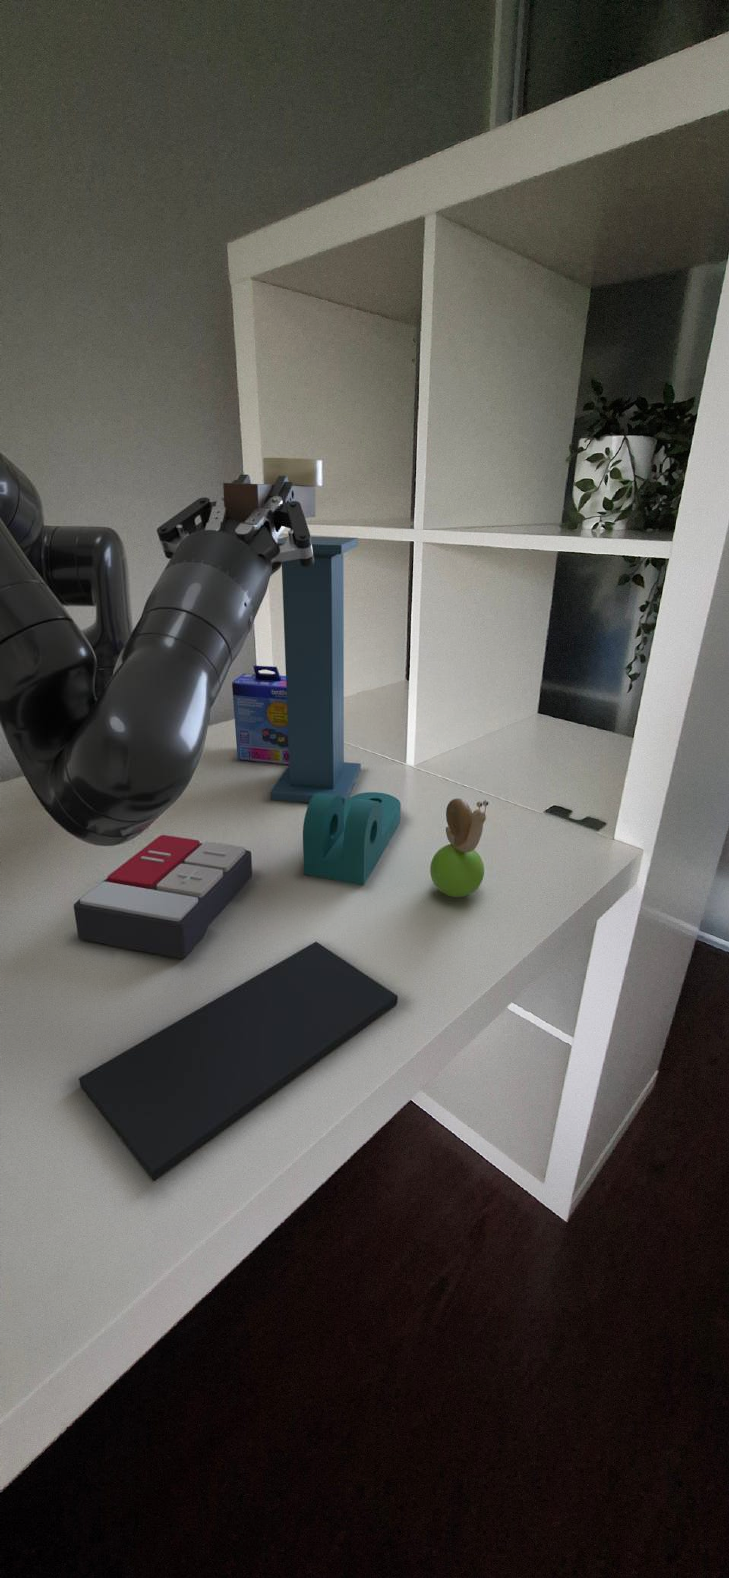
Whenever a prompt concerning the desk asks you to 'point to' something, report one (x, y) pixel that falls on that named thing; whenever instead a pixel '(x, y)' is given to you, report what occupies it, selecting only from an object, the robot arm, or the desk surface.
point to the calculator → (164, 896)
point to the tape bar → (251, 496)
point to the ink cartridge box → (261, 716)
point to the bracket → (347, 834)
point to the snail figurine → (460, 851)
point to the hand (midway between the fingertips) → (265, 485)
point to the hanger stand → (315, 675)
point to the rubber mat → (232, 1054)
